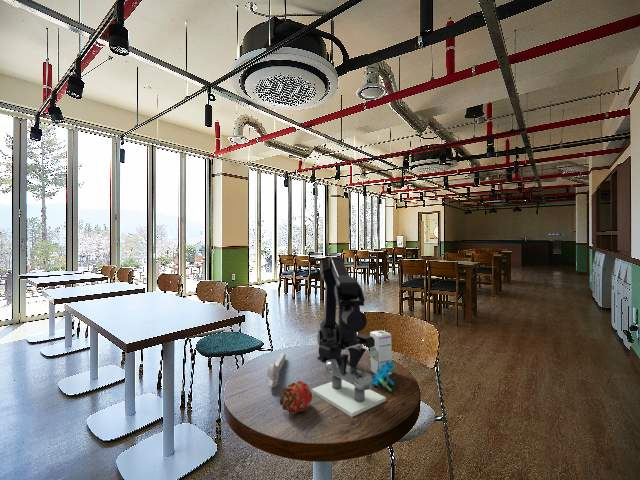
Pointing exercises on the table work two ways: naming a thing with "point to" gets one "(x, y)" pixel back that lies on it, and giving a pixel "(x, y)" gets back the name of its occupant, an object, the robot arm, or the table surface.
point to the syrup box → (380, 350)
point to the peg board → (348, 396)
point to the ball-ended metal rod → (350, 375)
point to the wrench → (275, 370)
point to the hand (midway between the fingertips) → (347, 373)
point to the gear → (383, 375)
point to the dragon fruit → (296, 397)
